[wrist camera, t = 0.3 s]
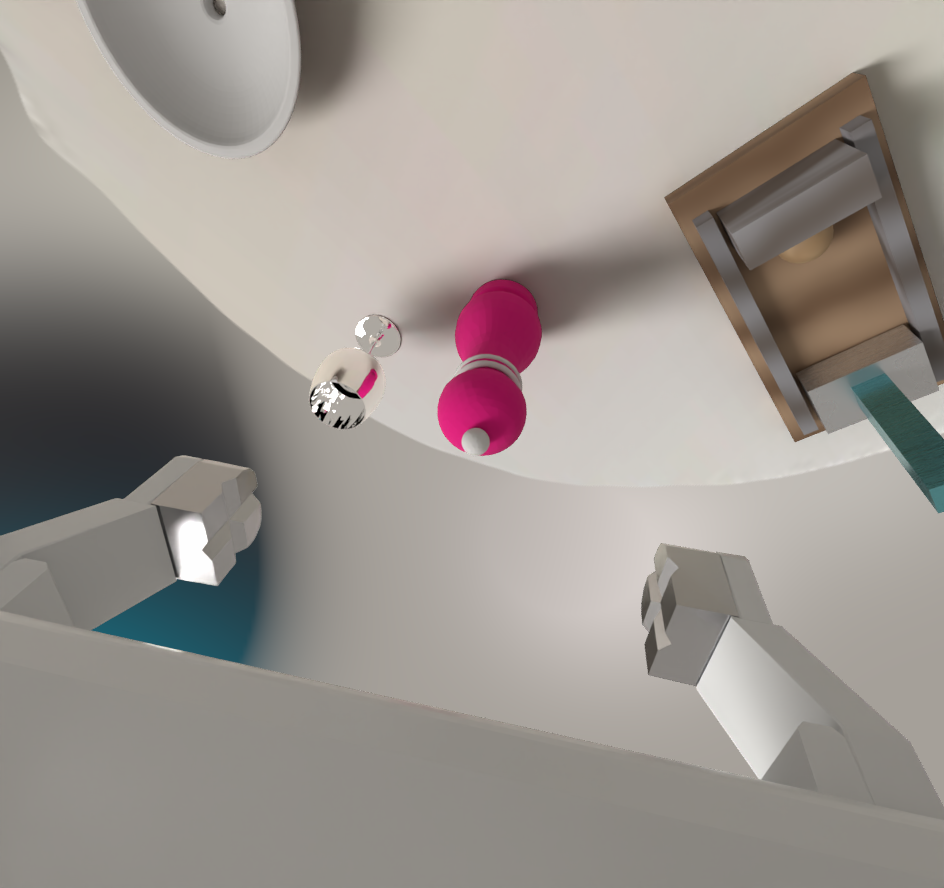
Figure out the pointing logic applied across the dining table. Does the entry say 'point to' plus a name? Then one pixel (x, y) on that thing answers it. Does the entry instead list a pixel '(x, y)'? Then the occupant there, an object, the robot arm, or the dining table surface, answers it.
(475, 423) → the pepper mill
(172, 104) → the dish
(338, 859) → the robot arm
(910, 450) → the track slider block
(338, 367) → the wineglass
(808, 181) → the tray
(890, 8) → the dining table surface
